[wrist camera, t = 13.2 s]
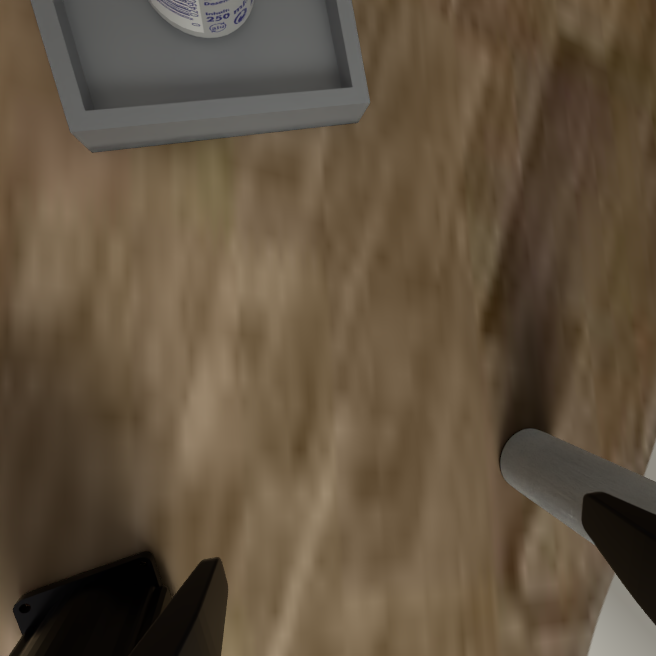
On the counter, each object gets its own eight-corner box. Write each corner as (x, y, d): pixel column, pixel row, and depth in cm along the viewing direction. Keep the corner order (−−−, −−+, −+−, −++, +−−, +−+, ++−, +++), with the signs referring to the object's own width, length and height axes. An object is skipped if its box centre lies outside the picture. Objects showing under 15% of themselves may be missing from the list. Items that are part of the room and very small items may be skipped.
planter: (517, 417, 23) (717, 504, 13) (560, 442, 24) (774, 539, 14) (488, 474, 23) (669, 606, 13) (532, 496, 24) (731, 633, 14)
